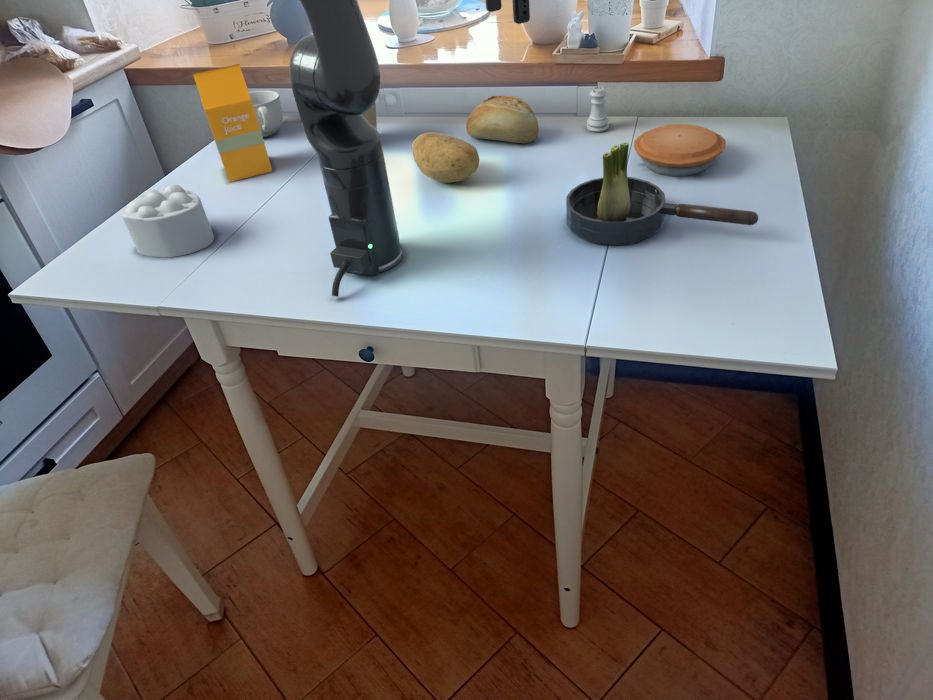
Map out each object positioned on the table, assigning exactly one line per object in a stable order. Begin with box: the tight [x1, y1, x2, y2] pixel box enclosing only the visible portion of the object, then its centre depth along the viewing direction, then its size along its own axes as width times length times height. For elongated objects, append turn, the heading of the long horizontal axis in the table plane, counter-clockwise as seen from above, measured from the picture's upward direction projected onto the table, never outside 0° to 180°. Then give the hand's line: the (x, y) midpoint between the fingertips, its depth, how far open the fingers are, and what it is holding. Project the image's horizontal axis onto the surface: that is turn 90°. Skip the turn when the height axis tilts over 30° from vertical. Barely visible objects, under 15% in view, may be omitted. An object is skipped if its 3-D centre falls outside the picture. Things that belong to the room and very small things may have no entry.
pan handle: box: [662, 202, 759, 226], centre depth 105 cm, size 2×14×2 cm, turn 65°
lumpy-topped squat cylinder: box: [120, 184, 215, 258], centre depth 121 cm, size 10×13×9 cm
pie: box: [633, 123, 727, 177], centre depth 125 cm, size 15×16×5 cm
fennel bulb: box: [597, 141, 630, 221], centre depth 109 cm, size 6×5×12 cm
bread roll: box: [465, 95, 540, 144], centre depth 140 cm, size 10×15×8 cm, turn 69°
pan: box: [565, 176, 667, 246], centre depth 112 cm, size 15×15×4 cm
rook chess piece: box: [586, 85, 610, 134], centre depth 139 cm, size 4×4×8 cm
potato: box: [411, 131, 481, 184], centre depth 128 cm, size 10×14×8 cm
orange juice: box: [192, 63, 273, 183], centre depth 138 cm, size 8×9×20 cm
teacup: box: [248, 89, 284, 138], centre depth 155 cm, size 14×11×8 cm
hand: (507, 16), depth 102 cm, fingers open, 8 cm apart
